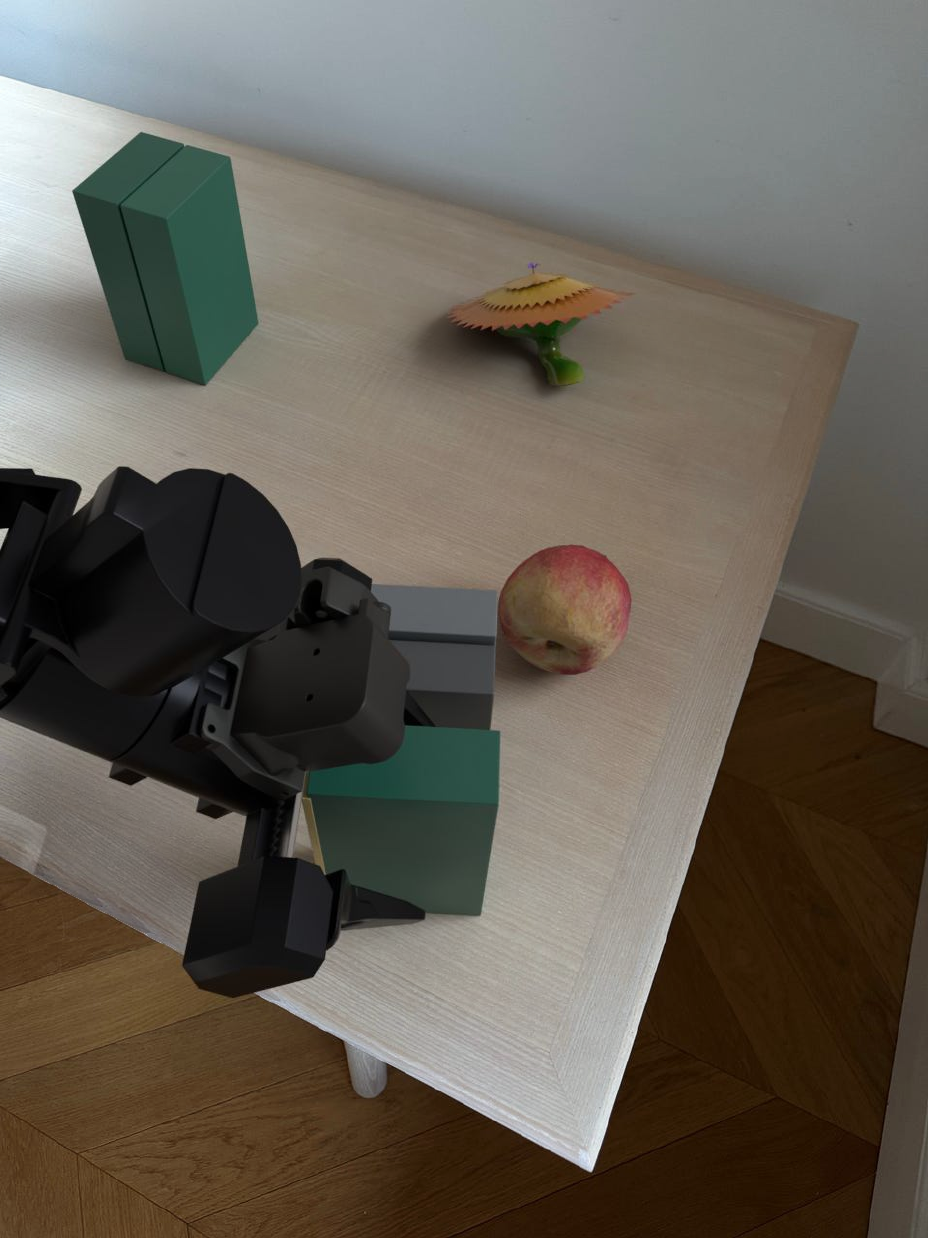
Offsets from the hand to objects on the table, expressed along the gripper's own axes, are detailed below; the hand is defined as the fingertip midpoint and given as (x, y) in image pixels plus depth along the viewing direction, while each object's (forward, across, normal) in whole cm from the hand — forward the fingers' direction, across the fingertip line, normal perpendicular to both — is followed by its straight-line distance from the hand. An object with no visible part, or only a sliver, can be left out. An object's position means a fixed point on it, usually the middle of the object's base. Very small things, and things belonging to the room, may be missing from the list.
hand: (426, 822), depth 48 cm
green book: (+5, 0, +6) cm, 8 cm away
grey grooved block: (+5, +10, +6) cm, 12 cm away
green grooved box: (-10, +42, +20) cm, 48 cm away
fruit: (+11, +16, +1) cm, 19 cm away
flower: (+10, +45, +2) cm, 46 cm away
